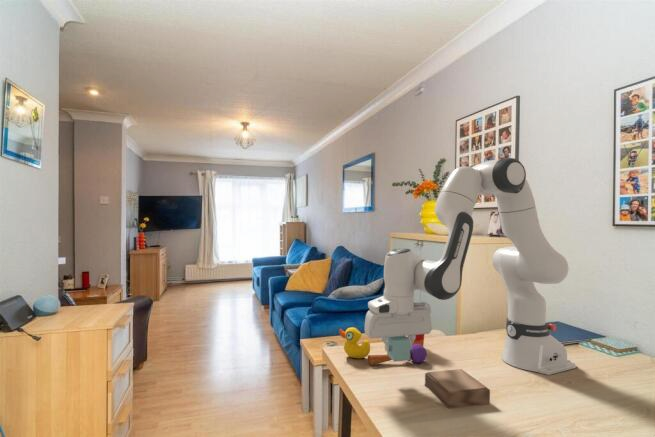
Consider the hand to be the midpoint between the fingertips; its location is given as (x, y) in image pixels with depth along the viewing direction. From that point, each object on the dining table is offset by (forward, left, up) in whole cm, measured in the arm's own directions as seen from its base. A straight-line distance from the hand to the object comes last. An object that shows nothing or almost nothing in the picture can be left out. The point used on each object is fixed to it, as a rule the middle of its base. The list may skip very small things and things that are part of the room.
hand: (398, 350), depth 99 cm
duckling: (+8, -19, -9) cm, 22 cm away
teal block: (0, 0, -2) cm, 2 cm away
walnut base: (-13, +10, -9) cm, 19 cm away
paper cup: (-18, -23, -9) cm, 31 cm away
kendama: (-5, -12, -10) cm, 16 cm away
